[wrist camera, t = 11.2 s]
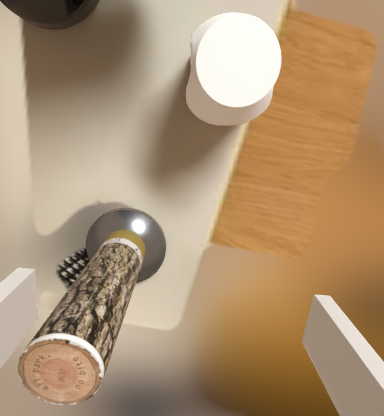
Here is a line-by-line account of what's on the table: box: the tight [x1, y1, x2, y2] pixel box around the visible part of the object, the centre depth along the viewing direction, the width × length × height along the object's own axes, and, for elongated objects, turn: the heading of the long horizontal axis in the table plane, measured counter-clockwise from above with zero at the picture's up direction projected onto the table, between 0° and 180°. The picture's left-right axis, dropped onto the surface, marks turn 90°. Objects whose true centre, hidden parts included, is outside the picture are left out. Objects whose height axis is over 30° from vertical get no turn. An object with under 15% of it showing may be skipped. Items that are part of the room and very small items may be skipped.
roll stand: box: [86, 208, 166, 282], centre depth 42 cm, size 13×13×14 cm
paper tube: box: [18, 230, 146, 405], centre depth 35 cm, size 7×7×25 cm
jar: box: [186, 13, 281, 126], centre depth 35 cm, size 12×10×15 cm
